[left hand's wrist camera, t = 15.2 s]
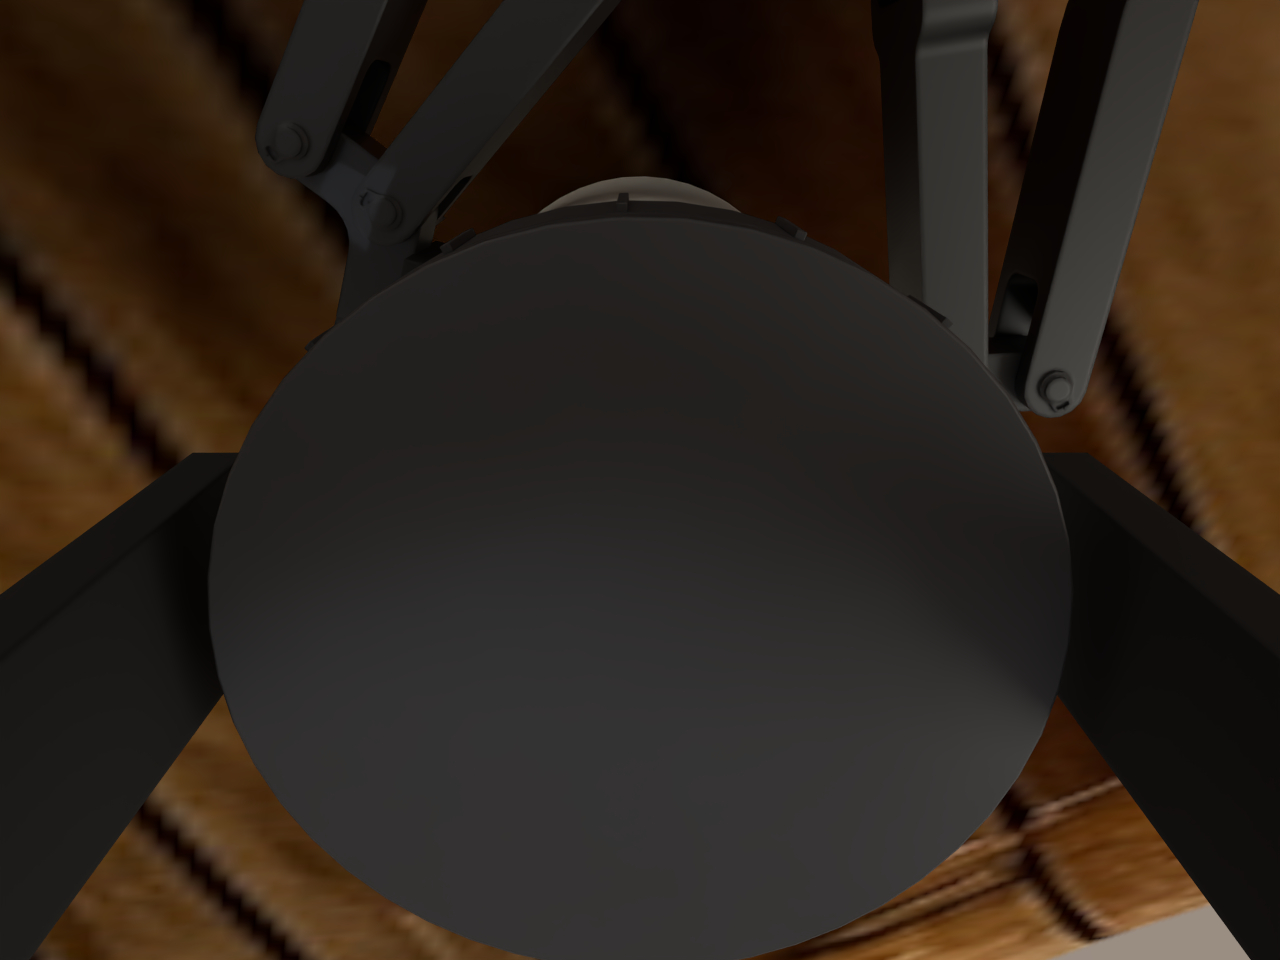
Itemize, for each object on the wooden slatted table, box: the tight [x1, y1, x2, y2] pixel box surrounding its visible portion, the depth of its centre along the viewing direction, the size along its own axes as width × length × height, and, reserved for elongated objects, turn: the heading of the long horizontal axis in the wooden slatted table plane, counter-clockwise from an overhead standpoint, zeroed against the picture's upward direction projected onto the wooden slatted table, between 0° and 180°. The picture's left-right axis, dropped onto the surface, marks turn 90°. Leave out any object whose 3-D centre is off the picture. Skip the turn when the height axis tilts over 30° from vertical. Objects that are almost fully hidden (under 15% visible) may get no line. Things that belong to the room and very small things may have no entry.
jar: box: [538, 176, 741, 214], centre depth 18 cm, size 9×9×15 cm
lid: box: [207, 193, 1073, 960], centre depth 11 cm, size 10×10×2 cm
